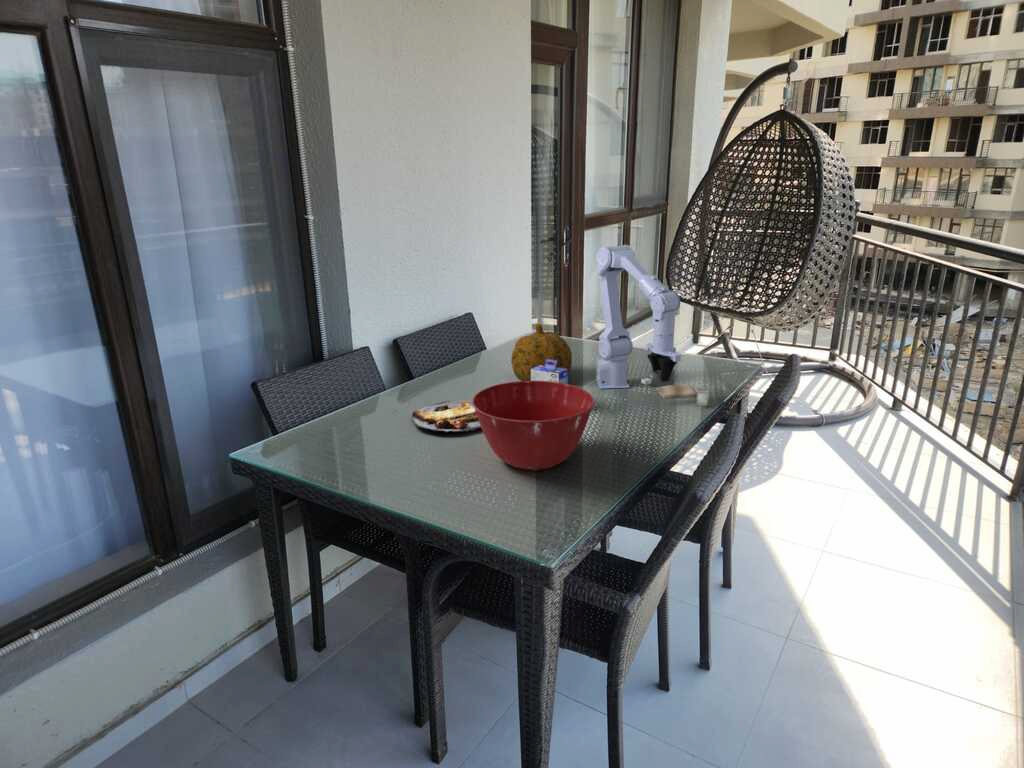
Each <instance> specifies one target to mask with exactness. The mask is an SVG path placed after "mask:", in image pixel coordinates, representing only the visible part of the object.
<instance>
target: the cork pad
mask: <svg viewBox="0 0 1024 768" xmlns="http://www.w3.org/2000/svg"><path fill="white" fill-rule="evenodd" d="M655 389H656V391H657V390H658V391H659V392H658V391H657V392H658V393H659V394H660V396H661V395H662V396H663V397H662V396H661V397H662V398H663V399H678V398H677V397H690V398H697V392H695V390H694V389H693V388H691V387H690V386H689V384H687V383H685V384H684V383H683V384H681V383H680V384H678V383H677V384H673V385H668V386H662V387H656V388H655Z"/></svg>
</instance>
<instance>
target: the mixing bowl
mask: <svg viewBox="0 0 1024 768" xmlns="http://www.w3.org/2000/svg"><path fill="white" fill-rule="evenodd" d="M471 401H472V404H473V406H474V408H475V411H476V414H477V417H478V420H479V421H478V422H479V424H480V425H481V431H482V433H483V435H484V437H485V439H486V441H487V443H488V444H489V446H490V448H491V450H492V451H493V453H494V454H495V455H496V457H498V458H499V459H500V460H501V461H503V462H504V463H506V464H508V465H510V466H511V467H514V468H516V469H520V470H525V471H542V470H548V469H551V468H554V467H555V466H557V465H558V464H559V465H560V463H562V462H565V461H566V460H567V459H568V458H569V457H570V456H571V455H572V454H573V452H574V450H575V449H576V447H577V446H578V444H579V443H580V440H581V438H582V436H583V435H584V431H585V429H586V427H587V423H588V421H589V417H590V415H591V410H592V408H593V406H594V404H595V398H594V396H593V395H592V394H591V393H590V392H589V391H587V390H585V389H583V388H581V387H579V386H575V385H572V384H569V383H568V384H564V383H559V382H551V381H521V380H519V381H518V380H517V381H511V382H510V381H509V382H504V383H503V382H502V383H499V384H494V385H491V386H489V387H486V388H483V389H482V390H479V392H477V393H476V394H475V395H474V396H473V398H472V400H471ZM480 425H479V426H480Z"/></svg>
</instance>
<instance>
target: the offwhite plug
mask: <svg viewBox="0 0 1024 768" xmlns="http://www.w3.org/2000/svg"><path fill="white" fill-rule="evenodd" d="M696 394H697V397H696V400H697V401H696V400H695V401H696V405H697V406H698V407H700V406H701V408H705V407H708V406H709V405H708V404H709V391H708V388H707V387H698V388H696Z"/></svg>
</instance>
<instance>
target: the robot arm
mask: <svg viewBox="0 0 1024 768" xmlns="http://www.w3.org/2000/svg"><path fill="white" fill-rule="evenodd" d="M595 259H596V267H597V274H598V279H599V286H600V287H599V289H600V294H601V295H600V296H601V303H602V310H603V312H602V313H603V321H604V326H605V327H604V328H605V329H604V331H602V332H601V334H600V335H599V336H598V339H599V343H598V344H599V345H598V353H599V355H600V356H601V358H598V359H597V360H596V381H595V382H596V384H597V386H598V387H599V389H600V390H601V389H602V390H603V389H604V390H605V389H628V388H630V384H629V383H628V382H627V374H628V373H627V372H628V371H627V369H628V368H627V366H628V359H629V358H630V355H631V354H632V353H633V350H634V349H633V348H634V344H633V341H632V338H631V336H630V331H629V330H627V329H626V328H624V327H623V320H622V312H621V311H622V310H621V305H620V295H619V286H618V279H617V277H618V276H619V274H621V273H622V272H623V271H624V270H625V271H626V272H627V274H629V275H630V276H631V277H632V278H633V279H635V281H637V282H638V289H639V291H640V292H642V294H643V295H644V296H645V297H646V298H647V300H649V304H650V305H649V306H650V308H651V311H652V317H653V338H652V339H653V340H652V341H653V342H652V343H646V344H645V351H648V352H650V353H649V354H647V359H648V360H649V363H650V365H651V369H652V371H657V370H661V380H662V382H666V381H669V379H670V376H671V373H672V370H674V368H675V366H676V364H677V363H678V362H681V361H682V353H679V352H678V351H677V348H676V347H674V342H675V341H674V340H675V323H676V311H678V310H679V309H680V306H681V299H680V296H679V294H678V293H677V291H675V290H670V289H668V288H667V287H666V286H665V285H664V284H663V283H662V282H661V281H660V280H659V278H658V276H657V275H656V274H655V275H654V274H653V273H652V274H648V273H647V271H646V269H645V268H644V267H643V265H641V263H640V262H639V260H638V259H637V258H636V253H635V250H634V249H633V248H632V247H631V246H630V245H628V244H623V245H615V246H601V247H600V248H599V250H598V252H597V254H596V255H595Z"/></svg>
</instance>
